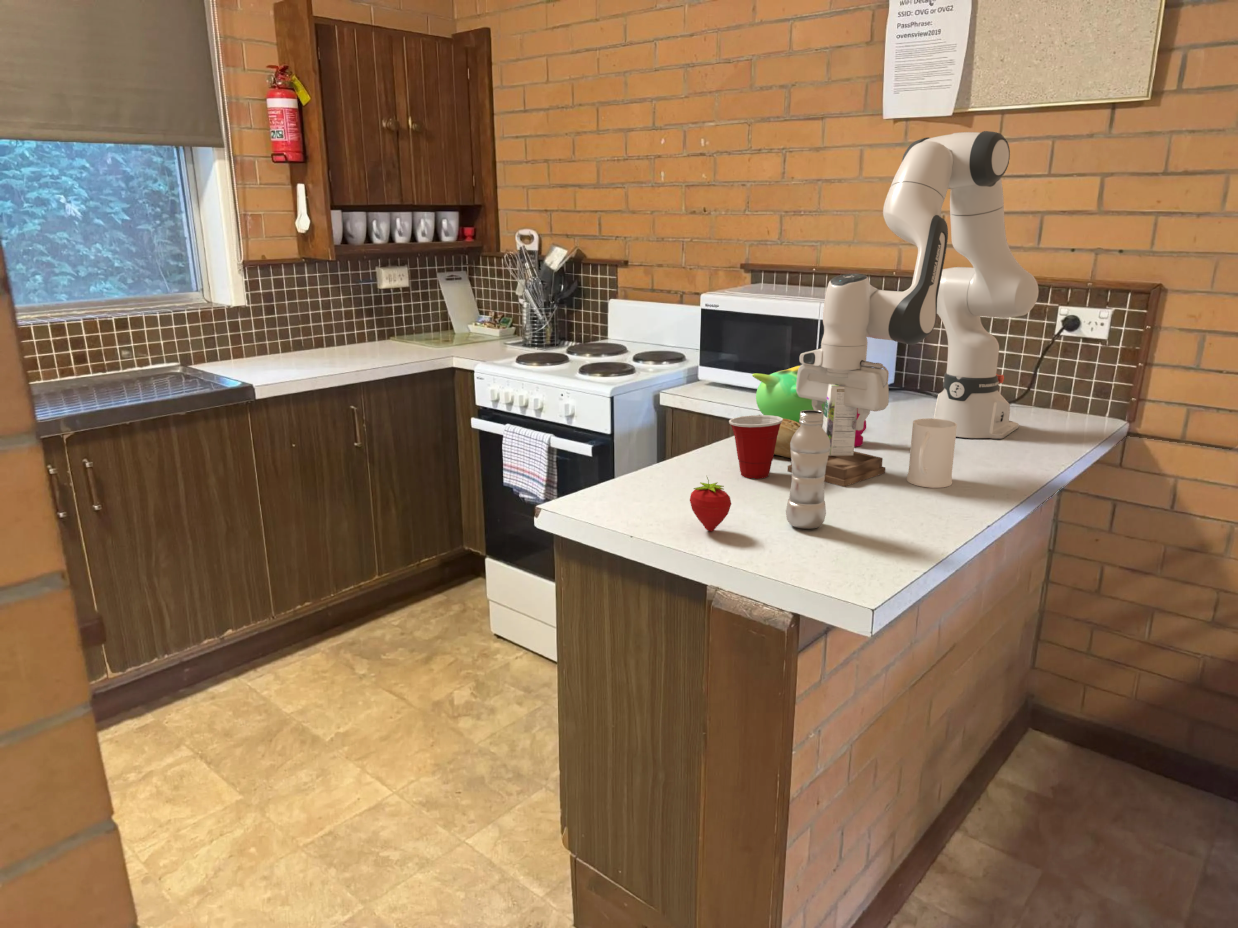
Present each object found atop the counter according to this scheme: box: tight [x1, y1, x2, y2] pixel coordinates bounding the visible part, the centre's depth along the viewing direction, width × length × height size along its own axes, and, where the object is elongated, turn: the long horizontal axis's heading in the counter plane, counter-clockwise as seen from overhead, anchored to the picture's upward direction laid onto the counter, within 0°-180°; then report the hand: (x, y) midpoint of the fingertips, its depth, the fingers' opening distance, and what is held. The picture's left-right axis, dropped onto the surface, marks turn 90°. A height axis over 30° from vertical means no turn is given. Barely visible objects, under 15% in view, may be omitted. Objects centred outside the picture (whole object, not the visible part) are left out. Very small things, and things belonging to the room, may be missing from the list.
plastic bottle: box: [785, 410, 831, 530], centre depth 139 cm, size 6×7×20 cm
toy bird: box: [751, 365, 824, 424], centre depth 210 cm, size 18×17×15 cm
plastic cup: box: [728, 414, 783, 480], centre depth 169 cm, size 11×11×12 cm
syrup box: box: [821, 384, 857, 456], centre depth 169 cm, size 6×6×14 cm
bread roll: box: [774, 419, 801, 459], centre depth 185 cm, size 10×15×8 cm, turn 56°
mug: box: [906, 418, 957, 489], centre depth 163 cm, size 12×8×12 cm
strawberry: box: [689, 475, 732, 532], centre depth 139 cm, size 6×8×10 cm
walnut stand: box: [787, 450, 886, 488], centre depth 172 cm, size 14×14×3 cm
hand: (838, 425), depth 169 cm, fingers closed on syrup box, 8 cm apart
